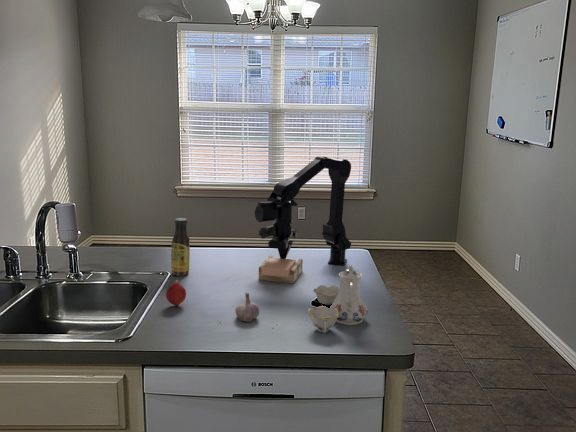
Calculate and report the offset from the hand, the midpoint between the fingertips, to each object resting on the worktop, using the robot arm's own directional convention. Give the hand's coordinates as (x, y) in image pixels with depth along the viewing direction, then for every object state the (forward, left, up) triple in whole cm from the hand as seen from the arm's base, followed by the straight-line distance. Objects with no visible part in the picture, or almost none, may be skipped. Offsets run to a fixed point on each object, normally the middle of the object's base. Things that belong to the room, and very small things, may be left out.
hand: (282, 261), depth 198 cm
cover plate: (+7, 0, -1) cm, 7 cm away
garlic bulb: (+43, 0, -5) cm, 43 cm away
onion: (+40, -23, -4) cm, 46 cm away
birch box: (+3, 0, -4) cm, 5 cm away
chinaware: (+36, +25, -5) cm, 44 cm away
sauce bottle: (+12, -34, -4) cm, 36 cm away
